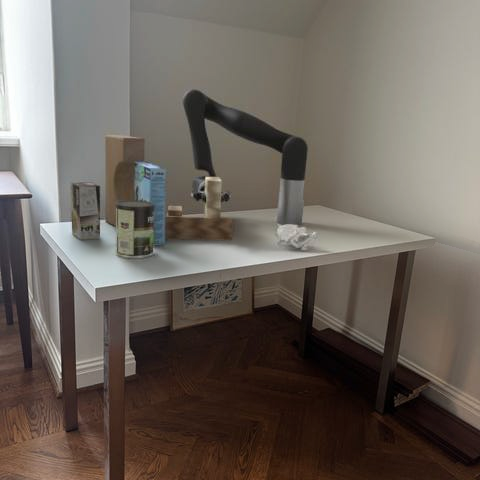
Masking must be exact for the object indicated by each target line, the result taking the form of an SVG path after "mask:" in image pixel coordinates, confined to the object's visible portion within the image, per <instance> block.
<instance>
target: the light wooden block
mask: <svg viewBox="0 0 480 480" xmlns="http://www.w3.org/2000/svg"><path fill="white" fill-rule="evenodd" d="M222 182H223V181H222V179H221V178H220V177H219V176H217V177H205V194H206V203H204V202H203V203H204V207H203V217H213V218H221V211H222V209H221V208H222V207H221V205H222V203H221V192H222V185H223V184H222Z"/></svg>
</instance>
